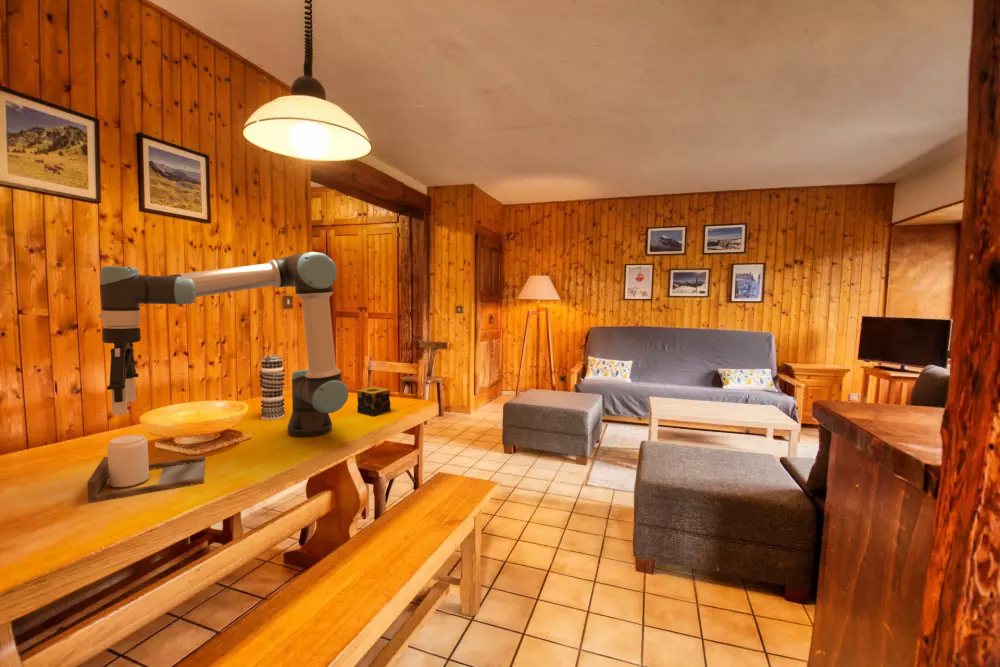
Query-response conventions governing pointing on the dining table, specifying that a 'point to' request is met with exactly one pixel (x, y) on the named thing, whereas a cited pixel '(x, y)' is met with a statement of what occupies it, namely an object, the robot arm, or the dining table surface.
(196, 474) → the dark frame
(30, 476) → the dining table surface
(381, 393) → the dark patterned box
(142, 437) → the beverage can
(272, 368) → the decorative candle
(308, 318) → the robot arm
